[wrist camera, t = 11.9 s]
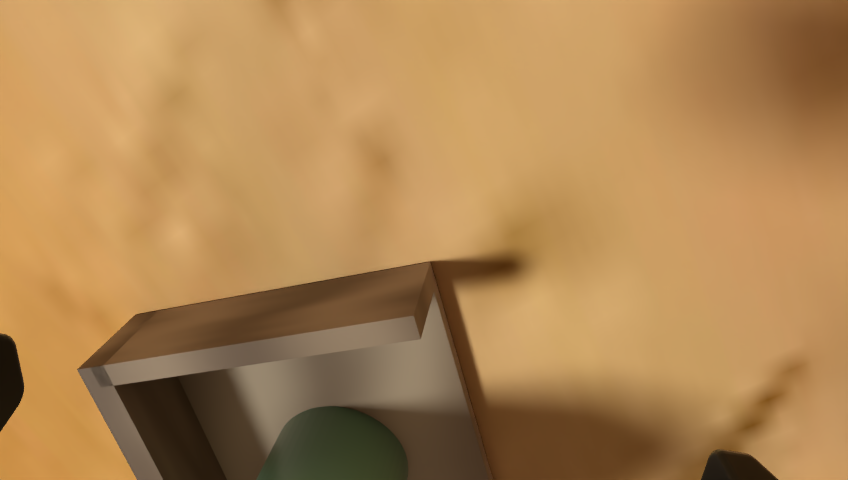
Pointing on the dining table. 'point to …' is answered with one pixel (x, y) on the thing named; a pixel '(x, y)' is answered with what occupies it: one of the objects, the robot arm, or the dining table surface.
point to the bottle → (335, 448)
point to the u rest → (287, 377)
